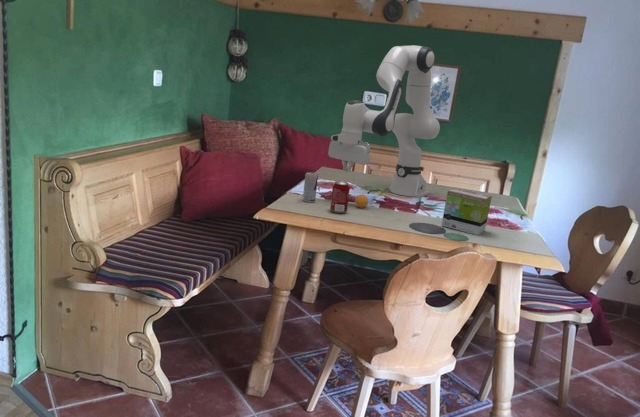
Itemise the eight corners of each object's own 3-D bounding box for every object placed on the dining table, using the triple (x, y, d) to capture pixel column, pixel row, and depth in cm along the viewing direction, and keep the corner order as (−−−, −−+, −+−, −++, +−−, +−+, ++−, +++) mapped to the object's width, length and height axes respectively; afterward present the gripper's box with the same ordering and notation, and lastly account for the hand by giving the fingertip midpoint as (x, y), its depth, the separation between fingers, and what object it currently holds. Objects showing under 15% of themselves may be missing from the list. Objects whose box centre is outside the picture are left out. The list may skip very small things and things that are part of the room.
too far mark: (450, 231, 198) (450, 231, 198) (472, 238, 192) (472, 237, 192) (439, 235, 191) (439, 235, 191) (461, 242, 186) (461, 241, 186)
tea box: (440, 226, 204) (446, 190, 201) (448, 222, 213) (454, 187, 209) (478, 236, 197) (485, 198, 193) (485, 231, 205) (492, 194, 202)
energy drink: (316, 201, 224) (319, 173, 221) (312, 203, 219) (315, 175, 216) (305, 198, 226) (308, 171, 223) (300, 201, 221) (303, 173, 218)
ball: (359, 205, 224) (361, 192, 223) (369, 208, 221) (371, 195, 220) (351, 206, 220) (353, 194, 219) (362, 210, 217) (363, 196, 215)
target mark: (421, 221, 209) (421, 220, 209) (452, 230, 200) (452, 230, 200) (402, 226, 198) (402, 225, 198) (434, 236, 190) (434, 235, 190)
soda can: (345, 215, 206) (348, 185, 203) (328, 212, 207) (331, 183, 204) (347, 211, 212) (351, 182, 209) (331, 208, 213) (334, 180, 210)
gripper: (375, 143, 216) (370, 175, 219) (337, 135, 228) (333, 166, 232) (366, 143, 211) (361, 176, 214) (328, 135, 224) (324, 167, 227)
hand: (346, 171), depth 223 cm, fingers closed
